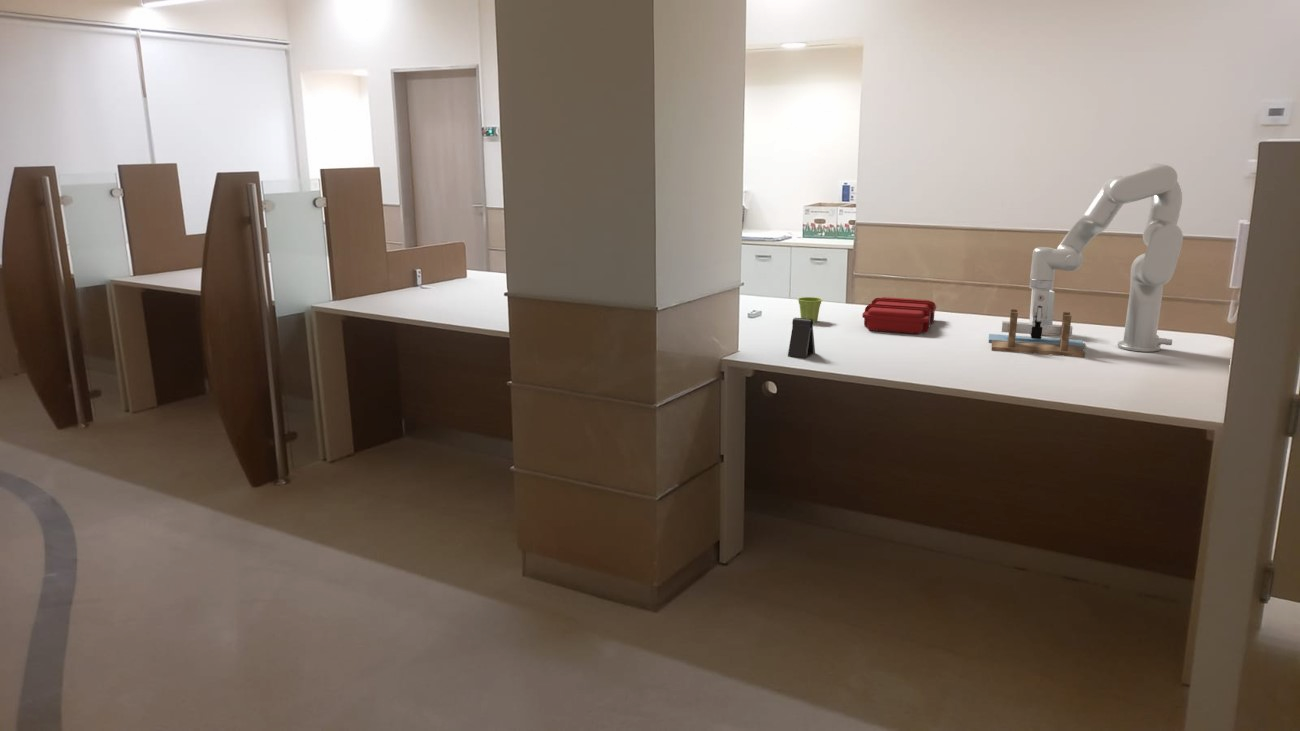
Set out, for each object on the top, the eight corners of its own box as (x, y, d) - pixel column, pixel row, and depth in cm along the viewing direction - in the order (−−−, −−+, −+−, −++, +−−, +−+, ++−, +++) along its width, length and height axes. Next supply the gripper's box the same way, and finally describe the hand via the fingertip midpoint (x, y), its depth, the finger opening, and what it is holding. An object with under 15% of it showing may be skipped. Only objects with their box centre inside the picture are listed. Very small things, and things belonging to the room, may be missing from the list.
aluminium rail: (1070, 334, 305) (1071, 325, 304) (1071, 336, 302) (1072, 327, 301) (1001, 330, 313) (1002, 321, 312) (1001, 332, 310) (1002, 323, 309)
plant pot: (791, 320, 347) (792, 298, 345) (811, 317, 352) (812, 296, 349) (806, 324, 339) (807, 302, 337) (826, 322, 344) (827, 299, 341)
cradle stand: (1081, 350, 297) (1086, 312, 294) (1084, 357, 288) (1089, 318, 285) (991, 343, 307) (995, 307, 303) (991, 350, 298) (995, 312, 294)
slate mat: (1082, 342, 308) (1082, 340, 307) (1084, 349, 299) (1084, 346, 298) (988, 336, 318) (989, 333, 318) (988, 342, 309) (988, 339, 309)
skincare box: (1051, 335, 319) (1056, 292, 315) (1031, 334, 321) (1036, 291, 317) (1046, 330, 327) (1051, 288, 323) (1027, 330, 328) (1031, 287, 325)
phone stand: (805, 358, 288) (806, 322, 285) (787, 356, 291) (788, 320, 288) (815, 353, 295) (816, 317, 292) (798, 350, 298) (799, 315, 295)
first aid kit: (875, 315, 357) (876, 294, 355) (936, 320, 348) (937, 298, 346) (860, 331, 328) (861, 308, 326) (926, 336, 319) (927, 313, 317)
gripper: (1055, 288, 294) (1048, 343, 299) (1052, 281, 309) (1046, 333, 314) (1030, 287, 297) (1024, 341, 302) (1028, 280, 312) (1023, 331, 316)
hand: (1035, 336), depth 308 cm, fingers closed on aluminium rail, 3 cm apart
